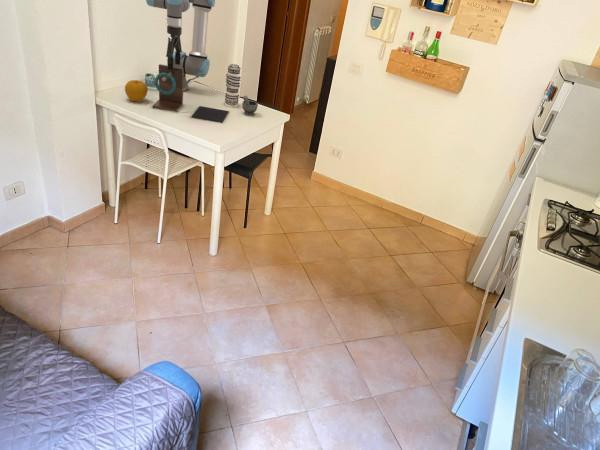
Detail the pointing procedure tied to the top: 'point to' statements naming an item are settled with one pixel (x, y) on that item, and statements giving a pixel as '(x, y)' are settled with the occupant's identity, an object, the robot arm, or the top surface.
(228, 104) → the decorative candle
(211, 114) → the mat
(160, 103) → the hook board
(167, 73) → the ring
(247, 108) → the mortar and pestle
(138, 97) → the apple
